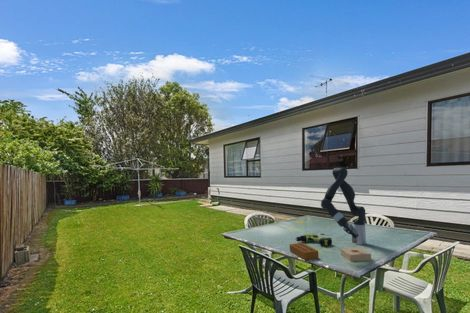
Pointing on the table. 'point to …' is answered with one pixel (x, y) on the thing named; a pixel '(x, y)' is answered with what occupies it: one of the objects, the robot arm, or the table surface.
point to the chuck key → (354, 240)
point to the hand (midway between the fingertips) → (356, 236)
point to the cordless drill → (315, 239)
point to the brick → (304, 251)
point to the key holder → (355, 254)
